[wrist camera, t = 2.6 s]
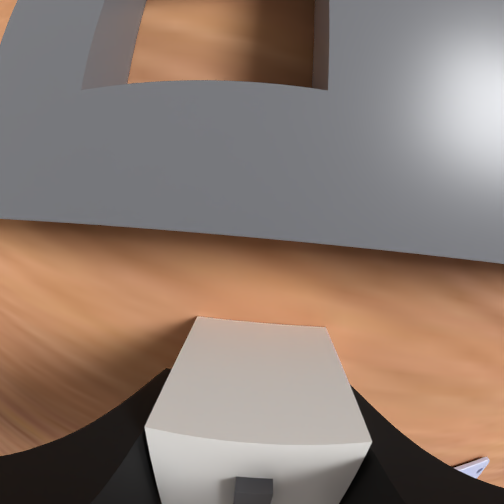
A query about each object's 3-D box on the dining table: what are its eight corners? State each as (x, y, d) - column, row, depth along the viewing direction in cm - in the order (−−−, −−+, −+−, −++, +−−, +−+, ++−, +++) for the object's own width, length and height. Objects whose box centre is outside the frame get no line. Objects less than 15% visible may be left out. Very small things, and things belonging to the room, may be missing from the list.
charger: (304, 419, 10) (322, 541, 5) (197, 411, 10) (163, 531, 5) (325, 327, 9) (377, 456, 4) (197, 316, 9) (137, 441, 4)
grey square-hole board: (551, 261, 8) (597, 278, 5) (22, 208, 9) (-38, 219, 6) (539, 29, 6) (574, 14, 3) (84, -49, 6) (54, -82, 3)
